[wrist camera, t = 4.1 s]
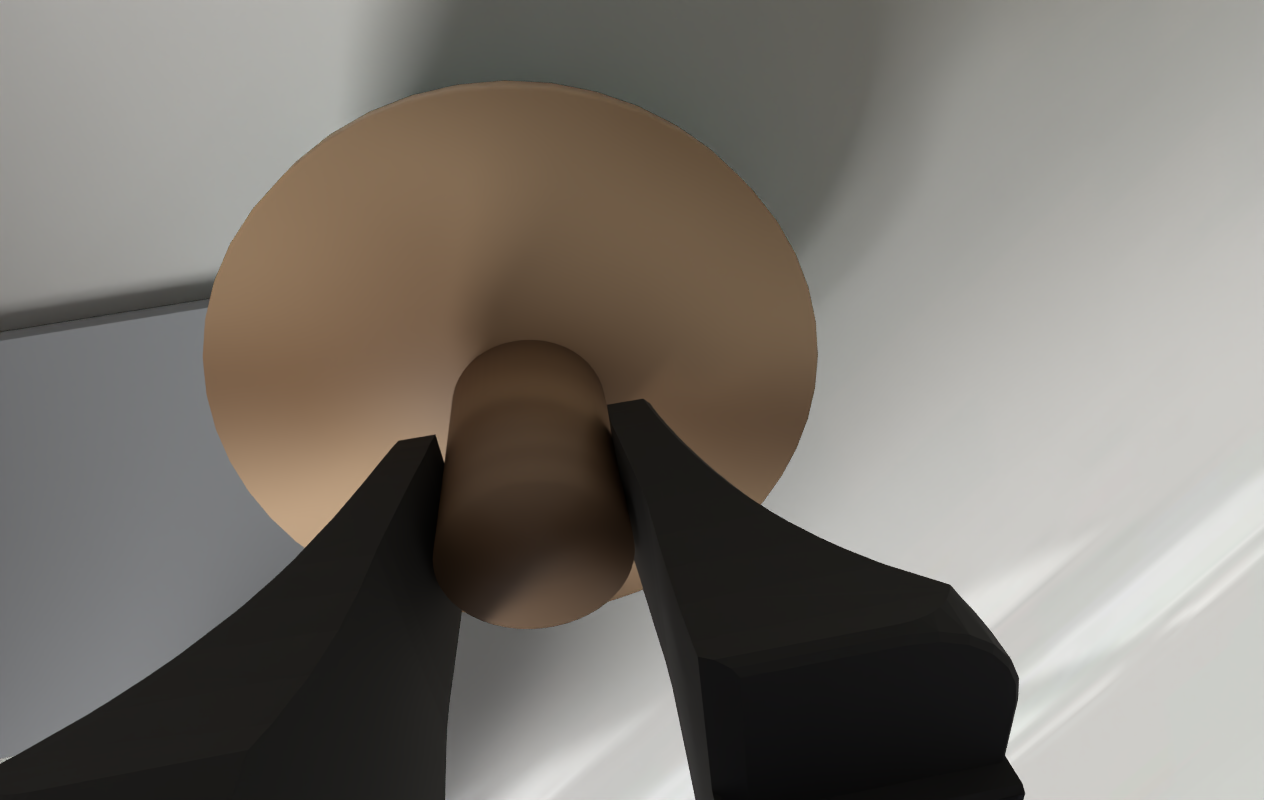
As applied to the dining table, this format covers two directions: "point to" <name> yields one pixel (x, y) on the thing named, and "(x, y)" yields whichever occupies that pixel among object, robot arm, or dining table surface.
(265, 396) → the lid
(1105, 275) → the dining table surface
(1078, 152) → the dining table surface
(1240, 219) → the dining table surface
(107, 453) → the mat
